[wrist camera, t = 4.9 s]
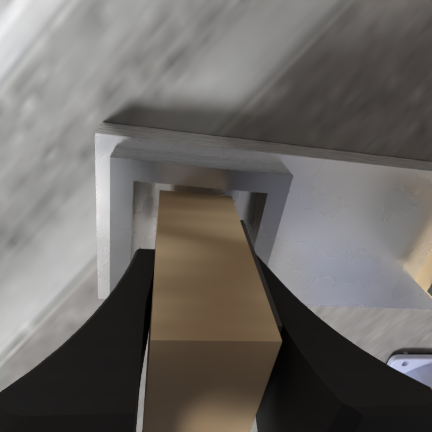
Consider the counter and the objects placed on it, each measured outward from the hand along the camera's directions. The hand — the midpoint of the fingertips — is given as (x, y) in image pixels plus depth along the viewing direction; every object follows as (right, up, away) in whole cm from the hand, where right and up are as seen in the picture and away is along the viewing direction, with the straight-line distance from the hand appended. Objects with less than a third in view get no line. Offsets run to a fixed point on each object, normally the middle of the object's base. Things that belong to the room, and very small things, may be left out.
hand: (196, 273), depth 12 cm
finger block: (0, +1, +2) cm, 2 cm away
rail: (+5, +2, +5) cm, 7 cm away
